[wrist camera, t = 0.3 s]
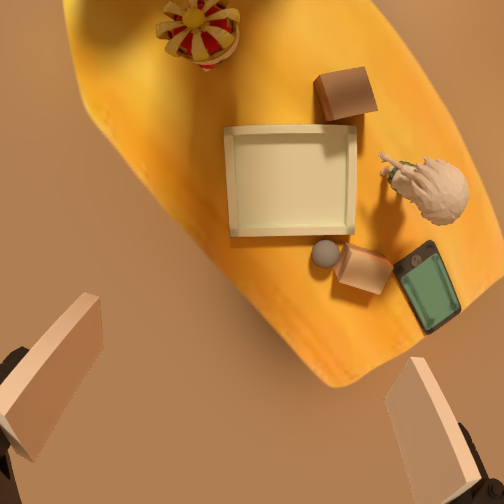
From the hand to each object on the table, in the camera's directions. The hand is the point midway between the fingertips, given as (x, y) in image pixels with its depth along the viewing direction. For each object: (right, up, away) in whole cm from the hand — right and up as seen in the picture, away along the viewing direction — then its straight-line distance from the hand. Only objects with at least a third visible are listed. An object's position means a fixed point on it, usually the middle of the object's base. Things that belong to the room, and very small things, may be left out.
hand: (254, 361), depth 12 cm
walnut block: (+10, +22, +21) cm, 32 cm away
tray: (+5, +13, +25) cm, 28 cm away
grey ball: (+9, +5, +28) cm, 29 cm away
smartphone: (+26, -1, +30) cm, 40 cm away
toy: (-4, +28, +19) cm, 34 cm away
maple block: (+14, +3, +28) cm, 32 cm away
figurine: (+18, +14, +24) cm, 33 cm away
